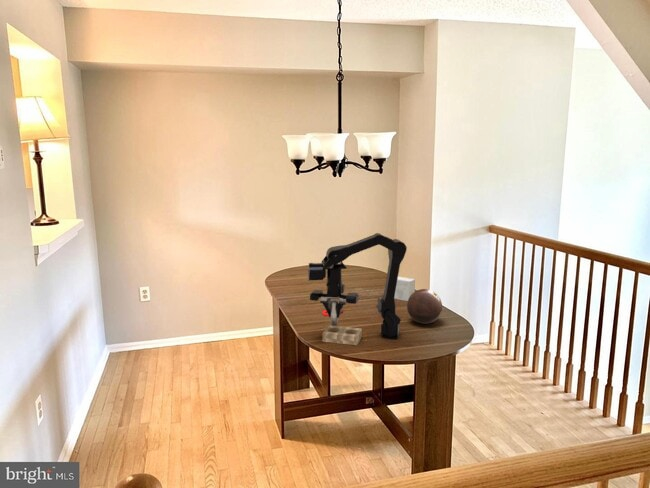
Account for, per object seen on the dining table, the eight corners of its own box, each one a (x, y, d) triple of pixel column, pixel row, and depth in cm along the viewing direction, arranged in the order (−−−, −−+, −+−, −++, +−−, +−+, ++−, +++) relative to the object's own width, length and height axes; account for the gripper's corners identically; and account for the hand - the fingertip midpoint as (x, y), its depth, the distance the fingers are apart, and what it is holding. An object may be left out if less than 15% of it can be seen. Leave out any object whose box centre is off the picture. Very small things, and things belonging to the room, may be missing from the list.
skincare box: (414, 298, 245) (415, 278, 243) (409, 301, 240) (409, 281, 238) (396, 295, 251) (397, 275, 249) (390, 298, 246) (391, 278, 244)
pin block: (361, 336, 195) (361, 328, 194) (357, 345, 186) (357, 336, 186) (328, 333, 199) (328, 325, 198) (322, 341, 190) (322, 333, 189)
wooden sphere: (442, 329, 203) (444, 295, 200) (406, 327, 205) (407, 293, 202) (440, 317, 217) (441, 285, 214) (406, 316, 220) (407, 284, 217)
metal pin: (338, 323, 193) (338, 299, 191) (337, 326, 191) (337, 301, 189) (331, 322, 194) (331, 299, 192) (329, 325, 191) (329, 301, 189)
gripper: (361, 275, 194) (361, 312, 197) (317, 273, 199) (317, 309, 202) (355, 283, 183) (355, 322, 186) (309, 279, 188) (309, 317, 191)
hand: (334, 317), depth 192 cm, fingers closed on metal pin, 3 cm apart
